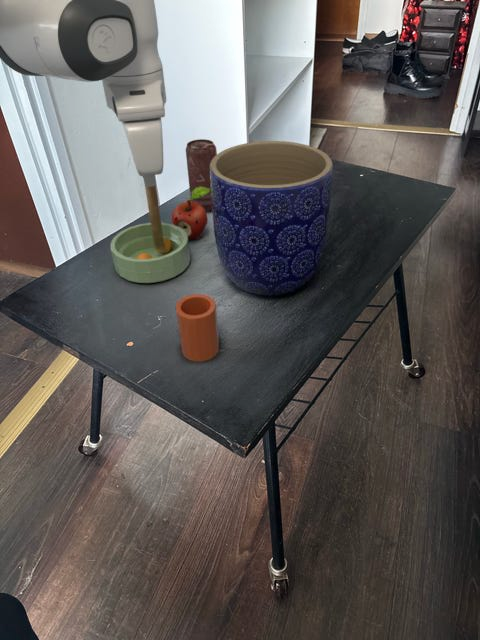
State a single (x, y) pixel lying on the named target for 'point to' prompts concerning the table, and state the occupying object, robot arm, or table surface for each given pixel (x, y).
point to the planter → (270, 213)
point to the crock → (198, 327)
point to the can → (200, 168)
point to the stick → (155, 218)
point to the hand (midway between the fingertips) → (149, 181)
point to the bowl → (141, 241)
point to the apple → (191, 214)
